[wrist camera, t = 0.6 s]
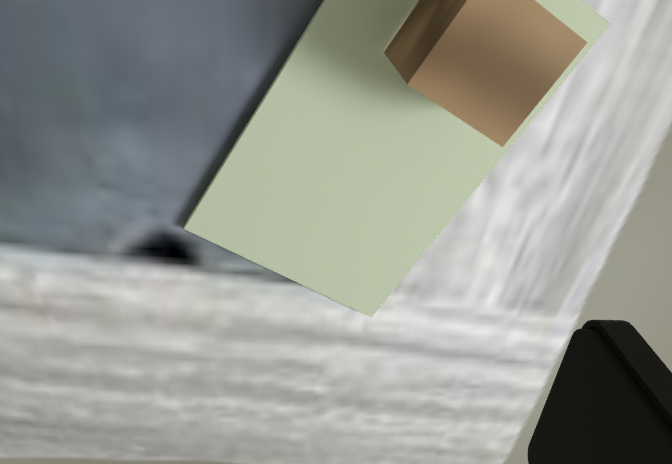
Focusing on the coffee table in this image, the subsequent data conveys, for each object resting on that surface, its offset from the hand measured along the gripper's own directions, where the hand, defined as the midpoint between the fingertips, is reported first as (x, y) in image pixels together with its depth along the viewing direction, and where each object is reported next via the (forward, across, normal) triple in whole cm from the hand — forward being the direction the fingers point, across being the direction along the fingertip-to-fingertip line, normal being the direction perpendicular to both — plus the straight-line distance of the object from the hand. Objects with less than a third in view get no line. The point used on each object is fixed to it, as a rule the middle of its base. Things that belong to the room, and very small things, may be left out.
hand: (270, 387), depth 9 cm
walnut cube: (+27, -11, 0) cm, 29 cm away
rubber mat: (+27, -8, +6) cm, 29 cm away
